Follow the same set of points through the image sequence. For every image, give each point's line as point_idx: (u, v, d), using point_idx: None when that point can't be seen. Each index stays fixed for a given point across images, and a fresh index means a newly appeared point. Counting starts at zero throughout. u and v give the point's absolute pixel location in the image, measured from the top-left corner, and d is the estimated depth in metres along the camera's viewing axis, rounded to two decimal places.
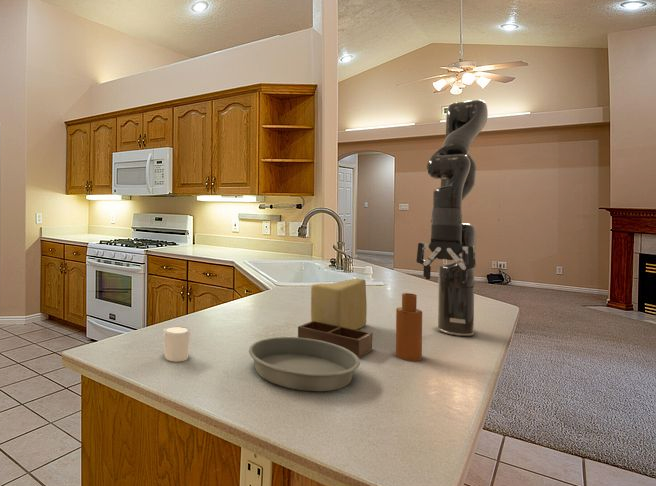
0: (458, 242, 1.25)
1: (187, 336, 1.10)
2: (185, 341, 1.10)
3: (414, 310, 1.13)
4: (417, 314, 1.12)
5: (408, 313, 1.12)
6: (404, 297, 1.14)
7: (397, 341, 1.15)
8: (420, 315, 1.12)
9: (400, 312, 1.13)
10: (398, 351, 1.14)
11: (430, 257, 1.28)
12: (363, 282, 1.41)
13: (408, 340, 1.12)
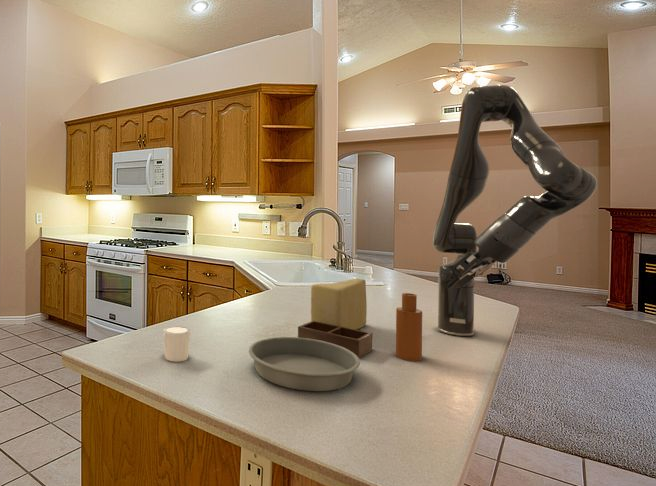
0: None
1: (187, 336, 1.10)
2: (185, 341, 1.10)
3: (414, 310, 1.13)
4: (417, 314, 1.12)
5: (408, 313, 1.12)
6: (404, 297, 1.14)
7: (397, 341, 1.15)
8: (420, 315, 1.12)
9: (400, 312, 1.13)
10: (398, 351, 1.14)
11: (472, 273, 1.03)
12: (363, 282, 1.41)
13: (408, 340, 1.12)
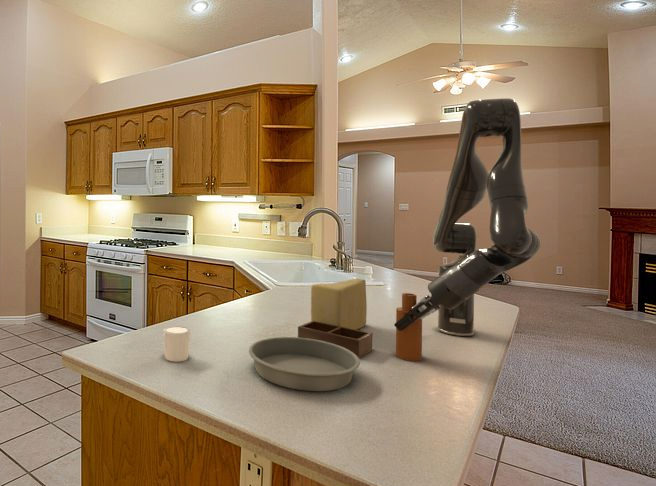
0: None
1: (187, 336, 1.10)
2: (185, 341, 1.10)
3: None
4: None
5: None
6: (404, 297, 1.14)
7: (397, 341, 1.15)
8: None
9: (400, 312, 1.13)
10: (398, 351, 1.14)
11: None
12: (363, 282, 1.41)
13: (408, 339, 1.12)
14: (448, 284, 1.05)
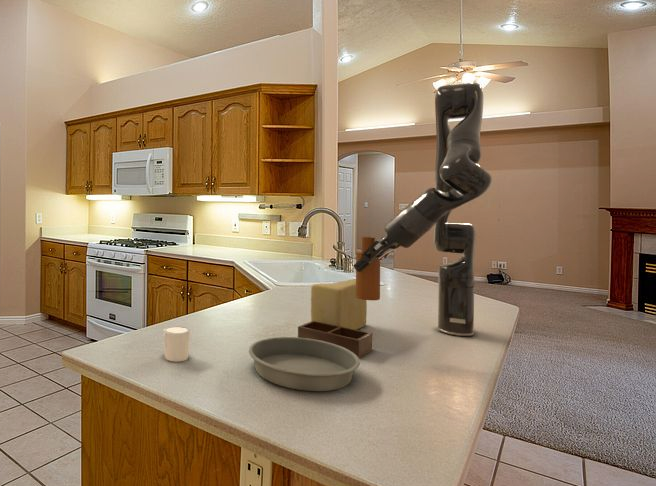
0: None
1: (187, 336, 1.10)
2: (185, 341, 1.10)
3: None
4: None
5: None
6: (363, 239, 1.17)
7: (356, 283, 1.18)
8: None
9: (359, 254, 1.17)
10: (357, 292, 1.17)
11: (380, 257, 1.13)
12: None
13: (366, 280, 1.15)
14: (402, 222, 1.08)
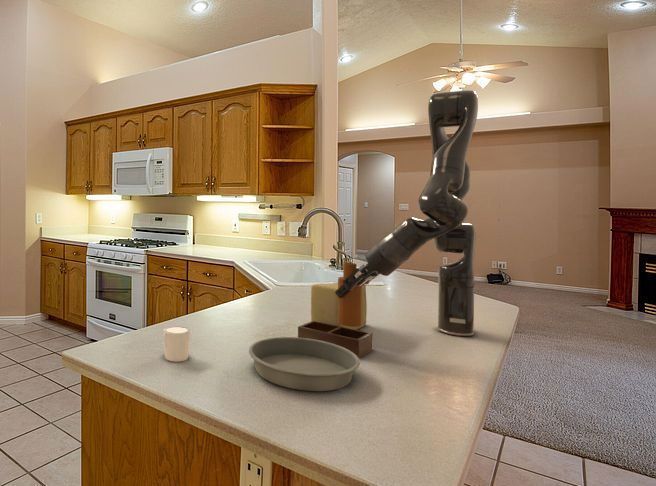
0: None
1: (187, 336, 1.10)
2: (185, 341, 1.10)
3: None
4: None
5: None
6: (345, 266, 1.19)
7: (338, 308, 1.19)
8: None
9: (340, 280, 1.18)
10: (339, 318, 1.19)
11: (361, 284, 1.14)
12: None
13: (347, 306, 1.17)
14: (382, 251, 1.10)
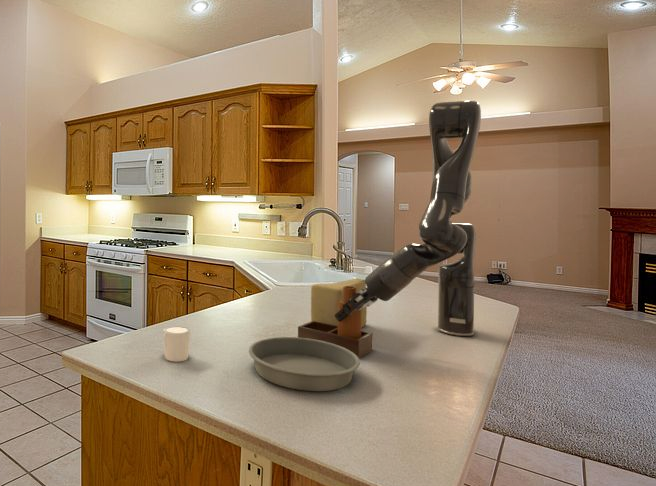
0: None
1: (187, 336, 1.10)
2: (185, 341, 1.10)
3: None
4: None
5: None
6: (344, 290, 1.19)
7: (338, 332, 1.19)
8: None
9: (340, 304, 1.18)
10: None
11: (360, 309, 1.14)
12: (363, 282, 1.41)
13: (347, 330, 1.17)
14: (382, 277, 1.10)
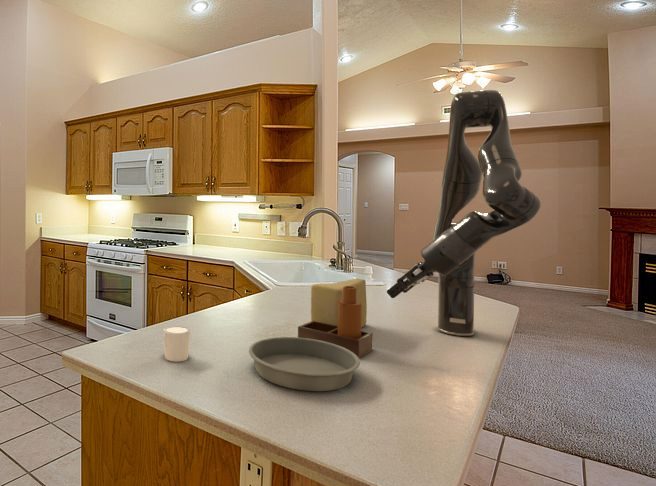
0: None
1: (187, 336, 1.10)
2: (185, 341, 1.10)
3: (354, 302, 1.18)
4: (356, 306, 1.16)
5: (347, 305, 1.17)
6: (344, 290, 1.19)
7: (338, 332, 1.19)
8: (359, 307, 1.17)
9: (340, 304, 1.18)
10: None
11: (416, 284, 1.05)
12: (363, 282, 1.41)
13: (347, 330, 1.17)
14: (442, 248, 1.01)
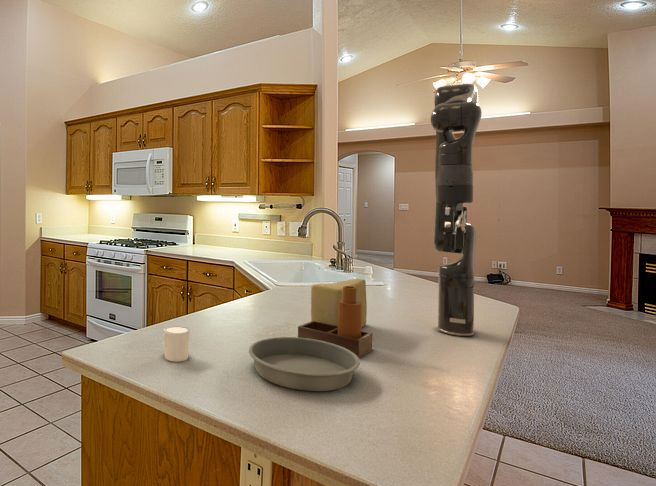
0: (462, 203, 1.13)
1: (187, 336, 1.10)
2: (185, 341, 1.10)
3: (354, 302, 1.18)
4: (356, 306, 1.16)
5: (347, 305, 1.17)
6: (344, 290, 1.19)
7: (338, 332, 1.19)
8: (359, 307, 1.17)
9: (340, 304, 1.18)
10: None
11: (459, 223, 1.07)
12: (363, 282, 1.41)
13: (347, 330, 1.17)
14: (446, 182, 1.09)
